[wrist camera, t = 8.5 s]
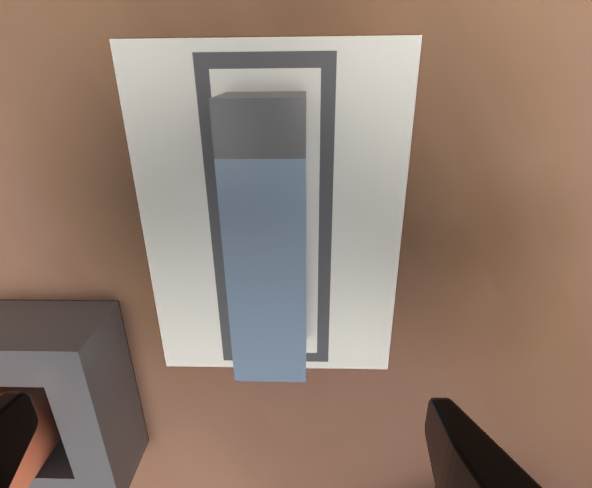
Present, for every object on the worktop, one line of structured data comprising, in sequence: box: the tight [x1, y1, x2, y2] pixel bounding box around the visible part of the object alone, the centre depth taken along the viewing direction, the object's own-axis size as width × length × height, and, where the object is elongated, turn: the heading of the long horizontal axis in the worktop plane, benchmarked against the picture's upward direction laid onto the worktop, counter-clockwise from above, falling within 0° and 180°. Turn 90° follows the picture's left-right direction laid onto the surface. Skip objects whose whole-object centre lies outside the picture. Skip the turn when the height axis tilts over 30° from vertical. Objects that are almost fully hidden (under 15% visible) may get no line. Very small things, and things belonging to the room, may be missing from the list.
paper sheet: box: [109, 35, 422, 369], centre depth 19 cm, size 16×12×1 cm
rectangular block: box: [209, 91, 306, 382], centre depth 17 cm, size 12×3×3 cm, turn 1°
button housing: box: [0, 300, 149, 488], centre depth 21 cm, size 10×10×4 cm
